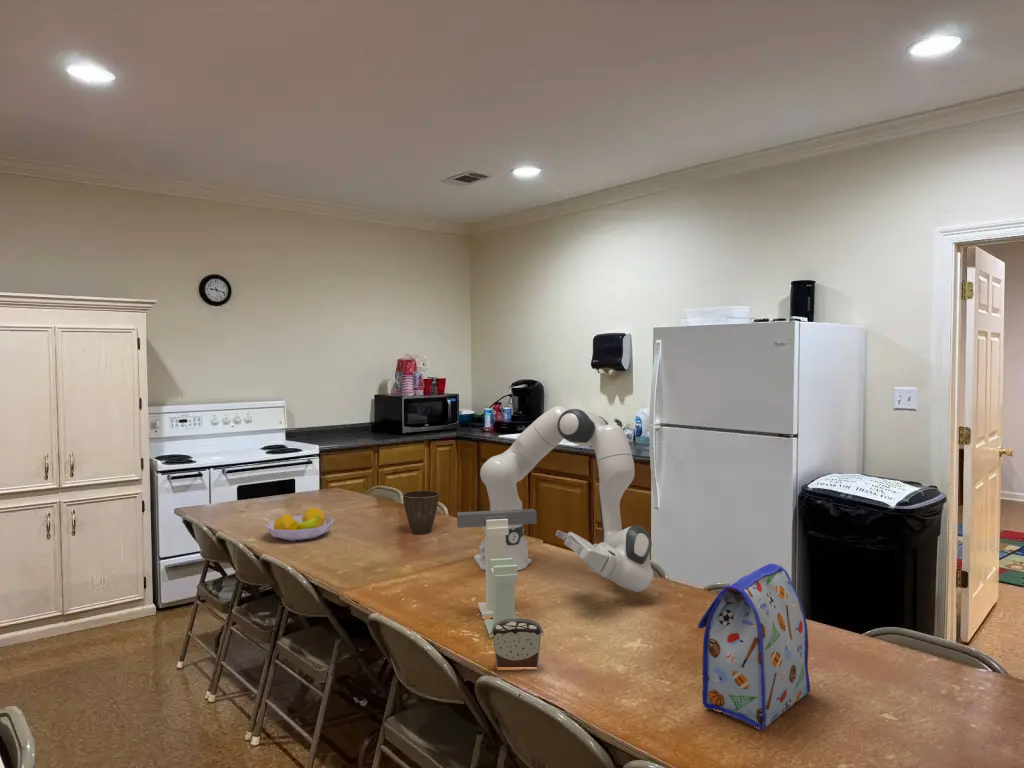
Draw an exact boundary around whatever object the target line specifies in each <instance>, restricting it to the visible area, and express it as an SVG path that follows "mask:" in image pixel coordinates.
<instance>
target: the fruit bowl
mask: <svg viewBox="0 0 1024 768" xmlns="http://www.w3.org/2000/svg"><path fill="white" fill-rule="evenodd" d="M325 514H326V513H325V512H324V511H323V510H321V509H320V508H318V507H316V506H315V507H311V508H308V509H307V510H306V511H304V513H303V514H302V515H294V516H292V515H291V514H288V513H284V514H282V515H281V516H279V517H278V518H276V519H273V520H270V521H268V523H266V524H265V528H266V529H267V531H268V532H269V533H270V535H271V536H272V537H274V538H278V539H282V540H286V541H289V542H296V540H298V541H306V540H305V539H307V540H314V539H315V538H318V537H320V536H321V535H323V534H325V533H327V532H328V531H330V530H331V528H332V525H333V523H334V521H335V518H333V517H329V516H326V515H325ZM313 538H314V539H313Z"/></svg>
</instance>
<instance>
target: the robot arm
mask: <svg viewBox="0 0 1024 768" xmlns="http://www.w3.org/2000/svg"><path fill="white" fill-rule="evenodd" d="M563 440H565V441H567V442H569V443H573V444H575V445H578V446H585V447H590V448H593V450H594V453H595V457H596V462H597V467H598V479H599V484H598V485H599V487H598V501H599V502H598V503H599V512H600V513H599V514H600V523H601V524H600V525H601V539H600V542H599V543H594V544H592V543H591V542H589V541H588V539H585V538H583V537H582V536H580V535H578V534H576V533H574V532H572V531H569V532H567V533H566V532H563V531H561V530H557V531H556V533H555V536H556V537H557V538H558V539H561V540H563V541H564V542H563V544H564V546H566V547H567V548H569V549H570V550H572V551H573V552H574V553H575V554H576V555H577V556H578V558H580V560H581V561H583V562H584V563H585V564H587V565H588V567H587V568H588V570H589V571H590V572H593V573H594V574H596V575H597V576H601V577H602V578H603V579H604V578H605V579H609V580H610V581H612V582H613V583H614V584H616V585H617V586H620V587H621V588H623V589H626V590H628V591H631V592H635V593H640V592H643V591H645V590H646V589H647V588H648V587H650V585H651V583H652V582H653V579H654V570H653V569H652V566H651V565H652V564H651V551H652V550H651V549H652V545H653V543H652V542H653V541H652V538H651V535H650V534H649V532H648V530H646V529H645V528H643V527H642V526H639V525H632V526H628V527H625V528H624V529H623V525H622V518H621V507H620V503H621V501H622V500H621V499H622V498H623V494H624V493H625V491H626V490H627V488H629V486H630V485H631V484H632V482H633V480H634V478H635V473H636V472H635V461H634V457H633V454H632V453H633V452H632V450H631V449H632V448H631V445H630V442H629V440H628V437H627V435H626V433H625V430H624V429H623V427H621V426H620V425H617V424H613V423H611V424H609V423H608V420H606V419H605V418H603V417H602V416H601V415H597V414H595V413H593V412H591V411H586V410H582V409H579V408H570V409H567V408H566V407H564V406H561V405H556V406H553V407H552V408H549V409H548V410H546V411H545V412H544V413H542V414H541V415H540V416H539V417H537V418H536V419H535V420H534V421H533V422H532V423H531V424H530V425H528V426H527V427H526V428H525V429H524V430H523V431H522V432H520V434H519V435H517V438H516V440H515V441H513V443H512V444H511V445H510V447H508V449H506V450H505V451H503V452H502V453H500V454H497V455H493V456H491V457H489V458H488V459H487V460H485V462H484V463H483V464H482V466H481V468H480V471H479V476H480V479H481V482H482V483H483V484H484V485H485V487H486V491H487V494H488V495H487V496H488V500H489V511H496V510H517V509H523V502H522V499H520V496H519V493H518V488H517V483H518V482H520V481H522V480H523V479H524V478H525V477H526V476H527V475H528V474H529V473H530V472H531V471H532V470H533V469H534V468H535V467H536V466H537V464H538V463H539V462H540V461H541V460H542V459H543V458H544V457H546V456H547V455H548V454H549V453H550V452H551V451H553V450H554V449H555V447H557V446H558V445H559V444H560V443H561V442H562V441H563ZM508 527H509V535H506V558H512V559H513V565H517V571H521V570H524V569H525V568H528V565H530V564H531V563H532V558H530V557H529V552H528V551H529V550H528V541H527V539H526V538H525V537H524V535H525V532H524V531H525V528H524V524H521V525H508ZM477 551H478V553H477V554H474V555H473V559H474V561H475V562H476V564H477V565H478V566H479V568H480V569H481V570H483V571H486V561H485V538H484V539H483V540H482V541H481V542H480V545H479V546H478V547H477Z"/></svg>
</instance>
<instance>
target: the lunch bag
mask: <svg viewBox="0 0 1024 768" xmlns="http://www.w3.org/2000/svg"><path fill="white" fill-rule="evenodd" d="M790 577H791V576H790V575H789V573H788V571H787V570H786V569H785V568H784V567H783V566H781V565H780V564H775V563H768V564H766V565H763V566H761V568H758V569H755V570H754V571H752V572H751V573H749V574H746V575H743V576H741V577H740V578H739V579H738V580H736V581H735V582H733V583H730V584H728V585H726V586H725V587H724V588H723V589H721V591H720V592H719V593H718V594H717V596H716V597H715V598H714V600H713V601H712V602H711V604H710V606H709V607H708V608H707V610H706V611H705V612H704V614H703V615H702V617H701V618H700V620H699V622H698V624H697V628H698V629H700V630H701V629H704V633H703V643H702V674H701V675H702V690H701V691H702V693H701V694H702V695H701V698H702V701H701V702H702V705H703V707H704V708H705V709H707V710H709V709H715V710H719V711H722V712H724V713H726V714H729V715H730V716H732V717H731V718H733V717H734V719H736V720H741V721H742V722H744V723H747V724H749V725H750V726H752V725H753V726H755V727H757V728H758V727H759V729H760V730H759V731H763V730H765V729H766V728H767V727H769V726H770V724H771V723H773V721H775V720H776V719H778V717H780V716H781V715H782V714H784V713H785V712H786V711H787V710H788V709H790V708H791V707H792V706H793V705H794V703H795V704H796V703H798V702H799V701H800V700H801V699H802V698H803V697H805V696H806V695H808V694H809V693H810V691H811V682H810V675H809V667H808V666H809V665H808V663H809V632H808V630H809V629H808V623H807V619H806V615H805V609H804V607H803V605H802V604H803V603H802V601H801V599H800V598H801V597H800V596H799V595H798V592H797V590H796V589H795V586H794V585H793V582H792V580H791V578H790ZM807 693H808V694H807ZM730 716H729V717H730ZM753 726H752V727H753ZM755 727H754V728H755ZM757 728H756V729H757Z"/></svg>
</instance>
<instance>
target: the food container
mask: <svg viewBox="0 0 1024 768" xmlns="http://www.w3.org/2000/svg"><path fill="white" fill-rule="evenodd" d="M492 633H493V638H492V639H493V640H492V641H493V649H494V657H495V666H496V668H497V667H538V668H539V660H540V650H541V639H542V636H545V634H544V629H543V627H542V624H541V623H539V621H538V622H537V621H536V620H533V619H530V618H524V617H518V618H510V619H504V620H501V621H498V622H496V623H495V624H494V625H493V627H492V629H491V634H492ZM491 634H490V637H491Z"/></svg>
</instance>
